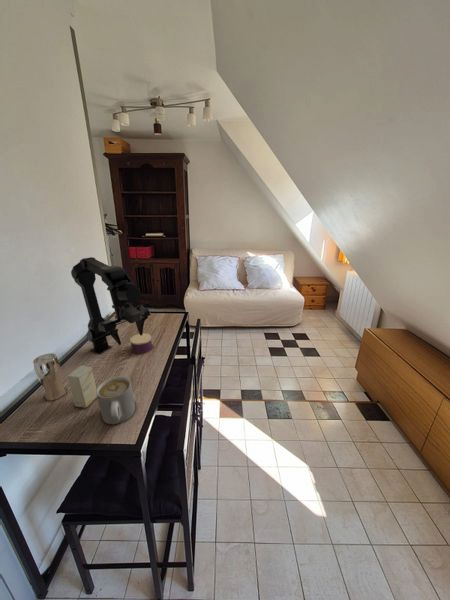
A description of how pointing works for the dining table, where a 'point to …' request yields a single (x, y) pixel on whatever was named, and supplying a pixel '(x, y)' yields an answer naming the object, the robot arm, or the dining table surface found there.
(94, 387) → the cosmetic box
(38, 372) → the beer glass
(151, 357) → the dining table surface
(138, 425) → the dining table surface
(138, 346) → the jar
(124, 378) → the coffee mug
